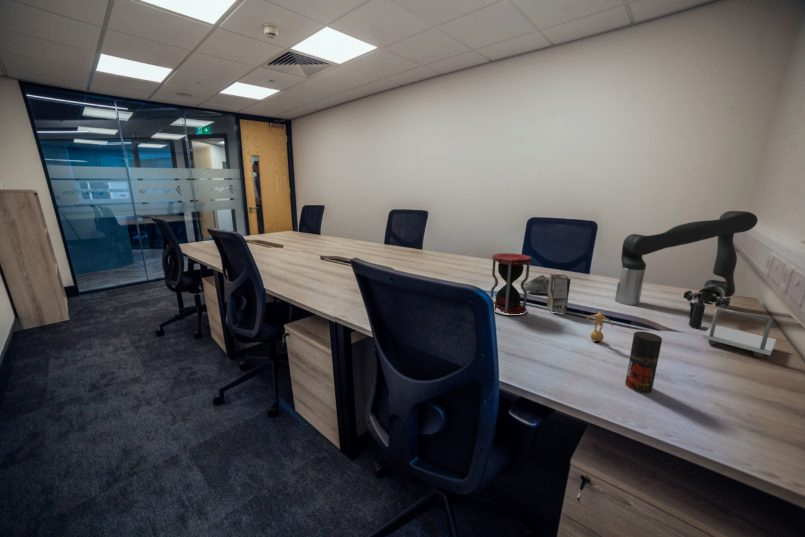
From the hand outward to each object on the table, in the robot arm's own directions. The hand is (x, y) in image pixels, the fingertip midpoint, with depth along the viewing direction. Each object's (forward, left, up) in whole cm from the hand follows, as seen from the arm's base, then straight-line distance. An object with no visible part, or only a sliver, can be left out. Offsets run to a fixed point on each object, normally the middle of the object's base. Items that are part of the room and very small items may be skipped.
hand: (702, 301), depth 133 cm
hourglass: (-56, -54, -9) cm, 78 cm away
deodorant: (+2, -77, -9) cm, 77 cm away
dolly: (+14, -21, -9) cm, 26 cm away
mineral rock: (-62, -17, -9) cm, 65 cm away
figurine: (-17, -57, -9) cm, 60 cm away
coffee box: (-42, -37, -9) cm, 56 cm away
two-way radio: (0, -10, -9) cm, 13 cm away
